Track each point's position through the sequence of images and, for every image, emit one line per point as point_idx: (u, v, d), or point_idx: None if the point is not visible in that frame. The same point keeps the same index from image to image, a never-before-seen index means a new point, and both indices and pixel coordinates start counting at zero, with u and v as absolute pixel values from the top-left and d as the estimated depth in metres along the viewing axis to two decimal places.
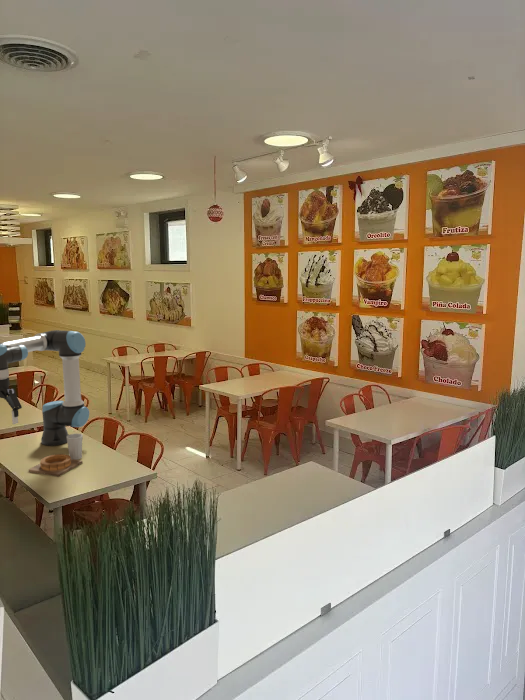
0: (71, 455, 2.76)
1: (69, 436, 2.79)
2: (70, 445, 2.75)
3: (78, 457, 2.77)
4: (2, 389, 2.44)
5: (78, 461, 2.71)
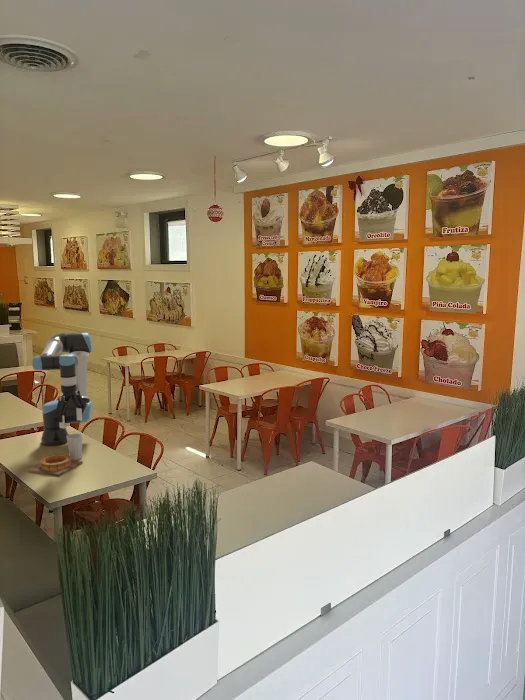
0: (71, 455, 2.76)
1: (69, 436, 2.79)
2: (70, 445, 2.75)
3: (78, 457, 2.77)
4: None
5: (78, 461, 2.71)
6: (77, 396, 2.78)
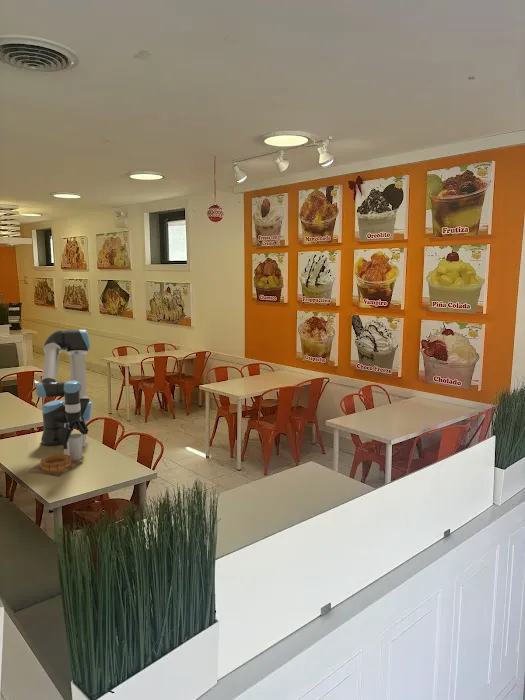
0: (71, 455, 2.76)
1: None
2: (70, 445, 2.75)
3: (78, 457, 2.77)
4: None
5: (78, 461, 2.71)
6: (81, 422, 2.82)
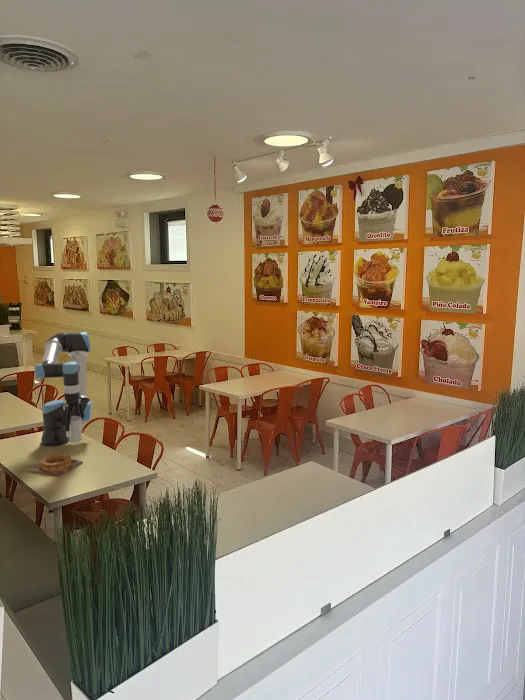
0: (70, 438, 2.75)
1: None
2: None
3: (78, 439, 2.76)
4: None
5: (78, 461, 2.71)
6: (79, 405, 2.80)
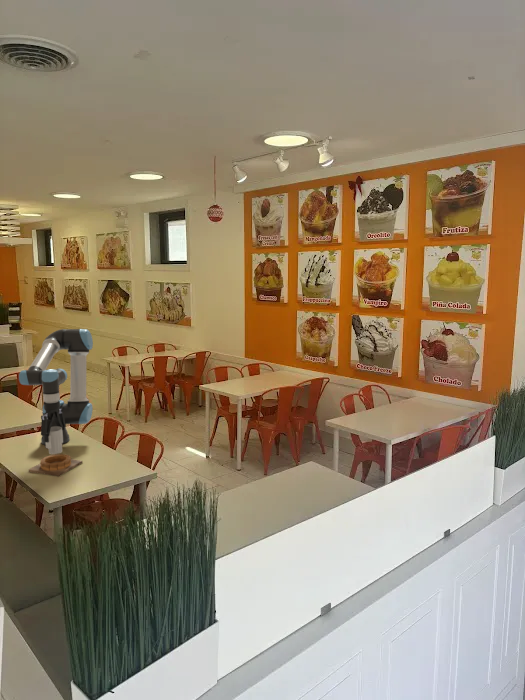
0: (50, 449, 2.62)
1: None
2: None
3: (58, 451, 2.63)
4: None
5: (78, 461, 2.71)
6: (60, 415, 2.67)
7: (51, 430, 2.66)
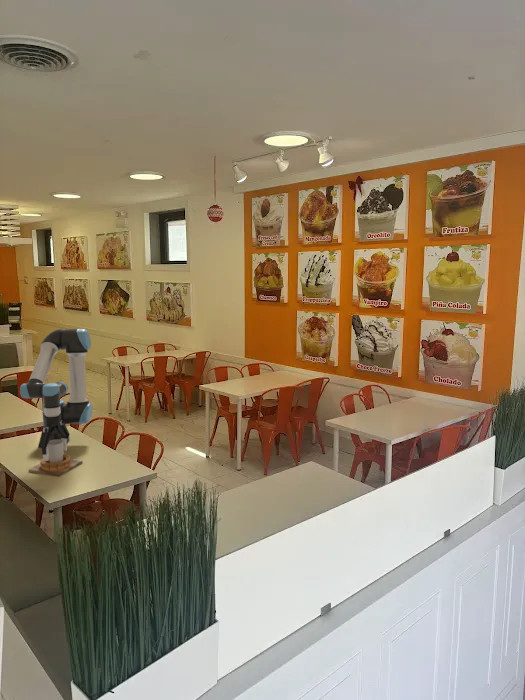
0: (51, 462, 2.63)
1: (49, 442, 2.66)
2: (50, 452, 2.62)
3: None
4: None
5: (78, 461, 2.71)
6: (62, 426, 2.69)
7: (53, 443, 2.68)
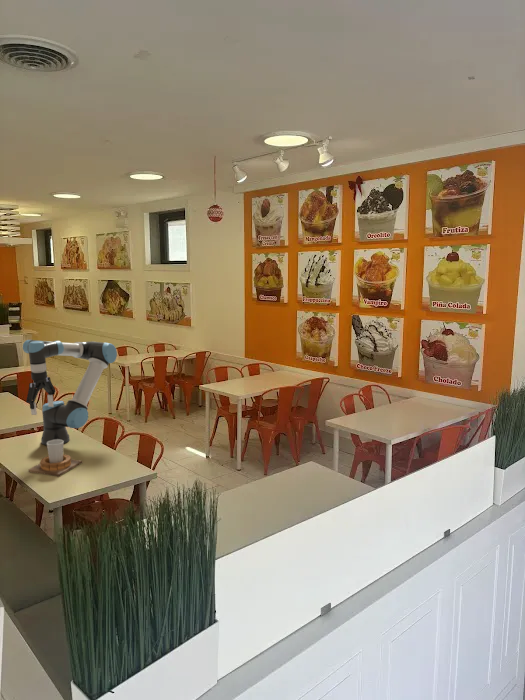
0: (51, 462, 2.63)
1: (49, 442, 2.66)
2: (50, 452, 2.62)
3: None
4: None
5: (78, 461, 2.71)
6: (48, 383, 2.79)
7: (53, 443, 2.68)
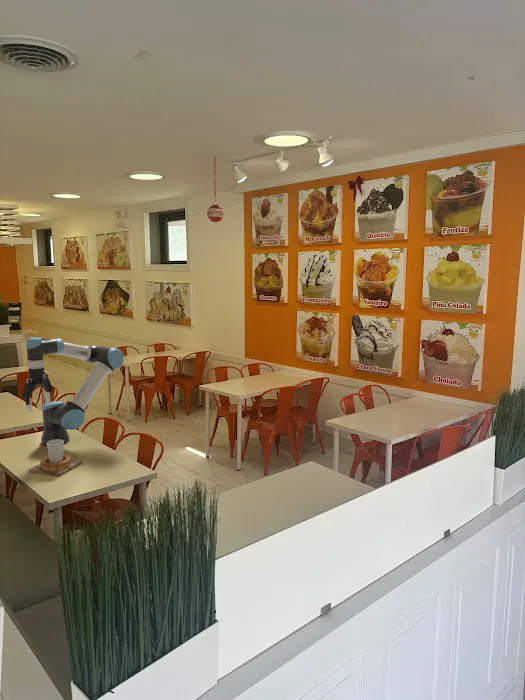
0: (51, 462, 2.63)
1: (49, 442, 2.66)
2: (50, 452, 2.62)
3: None
4: None
5: (78, 461, 2.71)
6: (45, 379, 2.81)
7: (53, 443, 2.68)
